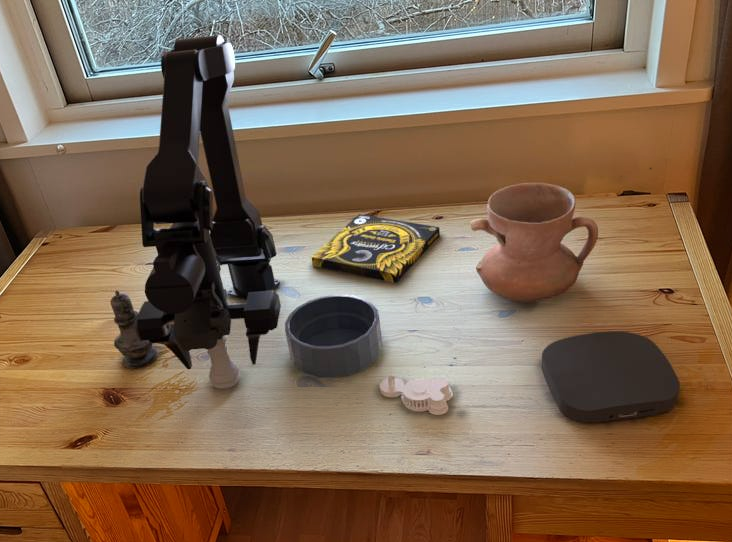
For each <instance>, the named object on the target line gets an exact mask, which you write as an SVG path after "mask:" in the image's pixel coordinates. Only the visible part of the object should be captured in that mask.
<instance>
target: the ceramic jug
mask: <svg viewBox="0 0 732 542" xmlns="http://www.w3.org/2000/svg"><path fill="white" fill-rule="evenodd" d="M575 209H576V197H575V195H574V194H573V193H572V192H571V191H570V190H569V189H566V188H565V187H561V185H560V186H559V185H556V184H550V183H546V182H522V183H516V184H511V185H508V186H505V187H503V188H500V189H498V190H496V191H495V192H493V193H492V194H491V195H490V196H489V198H488V199H487V205H486V210H487V217H488V219H487V218H477V219H474V220H472V221H471V222H470V229H471V230H472V231H473V232H477V231H483V232H486V233H487V234H489V235H492V236H494V237H495V239H496V241H497V244H495V245H494V246H492V247H491V248H490V249H489V250H487V251H486V253H485V254H484V256H483V257H482V259H481V261H478V263H477V264H476V266H475V270H476V273H477V274H478V275H479V277H480V279H481V281H482V283H483V284H484V285H485V287H486V288H487V289H488V290H489V291H490V292H492V293H493V294H495V295H497V296H499V297H502V298H503V299H506V300H510V301H515V302H523V303H524V302H525V303H531V302H532V303H533V302H541V301H547V300H550V299H554V298H555V297H558V296H560V295H562V294H564V293H566V292H567V291H568V290H570V289H571V288H572V287H573V286H574V284H575V283H576V281H577V280H578V277H579V274H580V271H581V270H582V268H583V265H584V264H585V263H584V262H585V261H586V259H587V258H588V256H589V255H590V254H591V252H592V251H593V249H594V248H595V246H596V243H597V242H598V238H599V227H598V224H597V223H596V221H595V220H594V219H592V218H590V217H589V216H581V215H580V216H576V217H574V213H575V211H576V210H575ZM573 217H574V218H573ZM583 227H585V228H586V229H587V239H586V241H585V243H584V245H583V247H582V249H581V250H580V252H579V253H578V254H577V256H576V254H575V253H574V252H573V251H572V249H570V248H569V247H568V246H566V245H565V244H564V243H562V241H563V240H564V237H566V235H567V234H569V233H571V232H572V231H574V230H576V229H579V228H583Z"/></svg>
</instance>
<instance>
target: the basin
mask: <svg viewBox="0 0 732 542" xmlns="http://www.w3.org/2000/svg"><path fill="white" fill-rule="evenodd" d="M379 314H380V313H379V309H378V308H377V307H376V306H375V304H374V303H373V302H371V301H370V300H368V299H365V298H364V297H362V296H357V295H353V294H337V293H336V294H329V295H323V296H319V297H316V298H313V299H309V300H307V301H305V302H304V303H302V304H300V305H299V306H297V307H296V308H294V309H293V310H292V311H291V312H290V313H289V314H288V315H287V316H288V317H287V318H286V320H285V322H284V332H285V338H286V342H287V347H288V348H287V349H288V351H289V356H290V361H291V362H292V363H293V365H294V367H295V368H296V369H298V370H299V371H300V372H302V373H303V374H305V375H309V376H312V377H315V378H320V379H321V378H322V379H337V378H344V377H349V376H351V375H354V374H358V373H361V372H362V371H364V370H365V369H367V368H368V367H370V366H372V365H373V364H374V363H375V362H376V361H377V359H378V358H379V357H380V355H381V353H382V351H383V347H384V345H383V337H382V329H381V319H380V315H379Z"/></svg>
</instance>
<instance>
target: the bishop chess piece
mask: <svg viewBox="0 0 732 542" xmlns="http://www.w3.org/2000/svg"><path fill="white" fill-rule="evenodd" d="M114 294H115V295H113V296H112V297H111V299H110V306H111V309H112V311H113V315H114V318H113V322H114V323H115V324H116V325H117V327H118V330H119V334H118V335H117V336H116V338H115V339H114V341H113V345H114V347H115V349H116V350H118V352H119V353H120V354H121V355H122V356H124V357H123V359H122V363H123V365H124V367H126V368H127V369H137V370H138V369H141V368H142V369H143V368H146V367H147V366H149V365H151V364H153V363H154V362H155V361H156V360H157V358H158V356H159V352H158V350H157V349H156V348H155V347H153V345H154V343H150V342H149V340H144V341H141V340H139V339H138V337H137V334H136V331H135V320H136V318H137V316H138V313H139V312H138V311H136V310H135V309H134V306H133V303H132V301H131V298H130V296H129V295H128V294H126V293H120V291H119V290H115V291H114Z"/></svg>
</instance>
